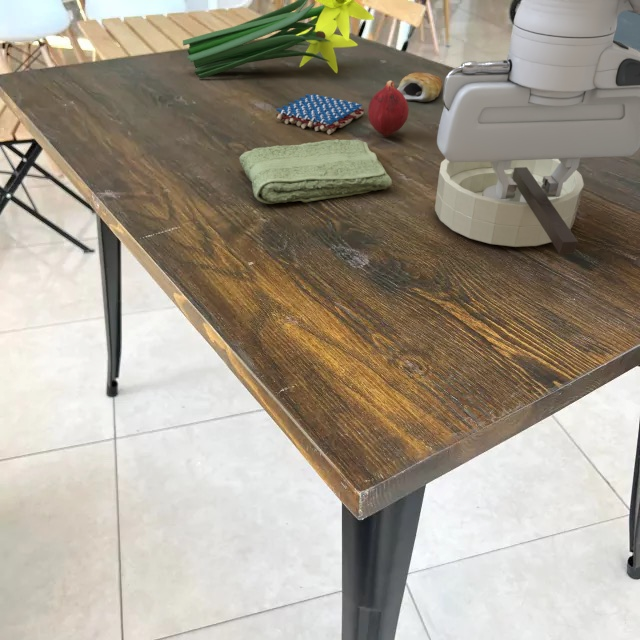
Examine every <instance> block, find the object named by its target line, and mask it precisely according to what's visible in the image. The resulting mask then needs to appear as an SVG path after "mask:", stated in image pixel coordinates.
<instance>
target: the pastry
mask: <svg viewBox="0 0 640 640" xmlns="http://www.w3.org/2000/svg"><path fill="white" fill-rule="evenodd" d="M442 86H443V81H442V79H441V77H440V76H437V75H434V74H431V73H430V72H419V71H417V72H416V71H415V72H413V73H408V74H407V75H405V76H403V78H401V80H400V82H399V85H398V87H397V88H396V89H397V90H399V91H400V92H401V93H402V94H403V96H404V97H405V99H406V101H407V102H408V101H409V102H410V101H415V102H416V101H417V102H419V103H420V102H421V103H423V102H427V103H429V102H432V101H434V100H435V99H436V98H438V97H439V96H440V93H441V92H442V89H443V88H442Z"/></svg>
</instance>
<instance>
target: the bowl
mask: <svg viewBox="0 0 640 640" xmlns="http://www.w3.org/2000/svg"><path fill="white" fill-rule="evenodd" d="M560 163H561V162H560V161H559V160H558V159H541V160H512V161H511V166H510V169H509V170H505V169H504V171H505V174H506V176H507V177H511V174H512V171H514V168H518V167H527V168H528V170H529V171H530V173H531V174H532V175H533V177H534V178H535V180H536V181H537V183H538V184H539V186H540V187H541V186H542V185H543V182H542V181H543V177H544V176H551V175H552V173H553V172H554V171H555V169H556V168H557V167H558V165H559V164H560ZM439 167H440V168H439V172H438V179H437V180H438V181H437V189H436V196H435V204H434V211H435V213H436V215H437V217H438V219H439V221H440V222H441V223H443V224H444V225H445V226H446V227H448V228H449V229H450V230H451V231H453V232H455V233H457V234H458V235H459V234H460V235H462V236H464V237H466V238H467V239H471V240H474V241H478V242H482V243H486V244H489V245H497V246H506V247H513V248H514V247H515V248H517V247H519V248H521V247H537V246H542V245H545V244H549V243H552V241H551V240H550V238H549V237H548V235H547V233H546V232H545V230H544V229H543V227H542V226H541V224H540V222H539V221H538V219H537V218H536V216H535V215H534V213H533V211H532V210H531V208H530V207H529V205H528V203H527V202H515V201H505V200H498V199H494V198H489V197H485V196H482V195H483V191H484V190H485V189H486V188H487V187H489V186H493V185H497V181H498V178H497V176H496V174H495V172H494V170H493V167H492V165H491V163H490V161H484V162H455V163H453V162H449V161H448V160H447V159H446V158H445V159H443V160H442V161H441V162H440V166H439ZM584 187H585V183H584V178H583V176H582V174H581V173H580V172H579V171H578V169H576V170H575V172H574V173H573V174H572V175H571V176H570V177H569V178H568V179H567V180H566V182H564V183H563V186H562V190H561V194H560V196H559V197H548V199H549V200H550V202H551V203H552V205H553V206H554V207H555V209H556V210H557V212H558V213H559V215H560V216H561V218H562V219H563V221H564V222H565V223H566V225H567V226H568V228H569V229H570V231H571V230H572V228H573V226H574V224H575V220H576V217H577V214H578V209H579V205H580V202H581V199H582V195H583V191H584Z"/></svg>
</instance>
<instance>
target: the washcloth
mask: <svg viewBox="0 0 640 640" xmlns="http://www.w3.org/2000/svg"><path fill="white" fill-rule="evenodd" d="M238 160H239V164H240V165H241V167H242V169H243V171H244V173H245V175H246V177H247V179H248V180H249V181H251V186H252V193H253V196H254V198H255V199H256V200H257V201H259V202H260V203H262V204H267V205H274V204H280V203H283V204H284V203H287V202H289V203H290V202H292V203H294V202H302V203H310V202H315V201H321V200H326V199H334V198H343V197H349V196H353V195H359V194H366V193H369V192H373V191H374V192H375V191H378V190H379V191H380V190H385V189H387V188H388V187H392V184H393V180H392V178H391V177H390V175H389V174H388V173H387V170H386V169H385V168H384V167H383V164H382V162H381V161H380V160H378V156H377V155H376V153H375V152H372V151H371V150H370V149H369V146H368V143H367V142H366V141H363V140H358V139H338V138H337V139H328V140H322V141H315V142H311V141H310V142H307V143H306V142H305V143H301V144H291V145H290V144H289V145H288V144H287V145H273V146H272V145H271V146H265V147H256V148H253V149H251V150H248V151H244V152H243V153H242V154H241V155H240V156H239V159H238Z"/></svg>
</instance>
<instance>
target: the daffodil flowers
mask: <svg viewBox="0 0 640 640" xmlns="http://www.w3.org/2000/svg"><path fill="white" fill-rule="evenodd" d="M308 1H309V0H296V1H294V2H291V3H289V4H287V5H284V6H282V7H280V8H278V9H275V10H273V11H271V12H268V13H265V14H263V15H261V16H260V15H259V16H258V17H256V18H252V19H250V20H247V21H245V22H243V23H240V24H236V25H235V26H230V27H227V28H223V29H219V30H215V31H210V32H207V33H205V34H201V35H197V36H194V37H190V38H187V39H183V40H182V45H183V46H187V45H188V49H186V51H187V52H188V55H187V60H189V61H190V63H192V62H193V66H194V67H195V69H196V68H197V69H196V70H194V73H195V75H196V76H198V78H199V79H200V78H202V79H205V78H207V77H211V76H214V75H216V74H220V73H223V72H226V71H229V70H231V69H235V68H237V67H240V66H243V65H245V64H249V63H256V62H261V61H268V60H275V59H282V58H292V57H302V59H301V61H300V63H299V66H298V67H299V68H301V67H303V66H304V65H306V64H307V63H308V62H309V61H311V60H312V59H313V58H316V59H320V60H322V61H325V62H326V64H327V65H328V66H329V67H330V68H331V70H332V71H333V72H334V73H336V74H338V71H339V69H338V62H337V55H336V53H335V49H334V48H352V47H357V46H359V44H358V43H357V42H355V40H353V39H351V38H350V31H351V30H350V28H351V27H350V24H351V23H350V17H352V18H353V19H354V18H355V19H357V20H362V21H372V20H375V17H374V16H373V14H371V13H370V12H369V11H368V10H367V9H366V8H365V7H363V6H362V5H361V4H359V3H358V2H357V1H356V0H314V1H315V2H314V3H312V4H310V5H308V6H307V7H305V6H306V4H307V3H308ZM316 3H318V4H321V5H320V6H316V7H314V6H315V4H316ZM308 19H310V20H309V21H306V22H302V21H304V20H308ZM337 28H338V30H339V32H340V34H336V33H335V32H336V30H337ZM268 35H270V36H268ZM265 36H268V37H266V38H264V39H261V38H263V37H265ZM258 39H261V40H258ZM255 40H257V41H255ZM306 42H307V43H306ZM308 43H310V44H308ZM294 46H308V47H307V49H306V51H299V50H297V49H296V50H295V49H290V48H292V47H294ZM319 53H320V55H321V56H320V55H318V54H319Z"/></svg>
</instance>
